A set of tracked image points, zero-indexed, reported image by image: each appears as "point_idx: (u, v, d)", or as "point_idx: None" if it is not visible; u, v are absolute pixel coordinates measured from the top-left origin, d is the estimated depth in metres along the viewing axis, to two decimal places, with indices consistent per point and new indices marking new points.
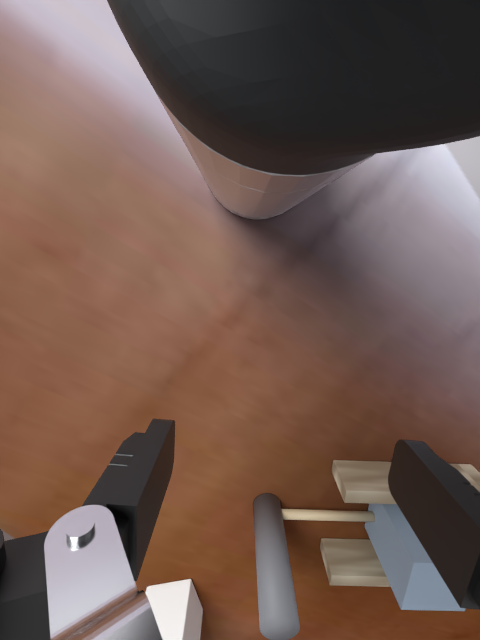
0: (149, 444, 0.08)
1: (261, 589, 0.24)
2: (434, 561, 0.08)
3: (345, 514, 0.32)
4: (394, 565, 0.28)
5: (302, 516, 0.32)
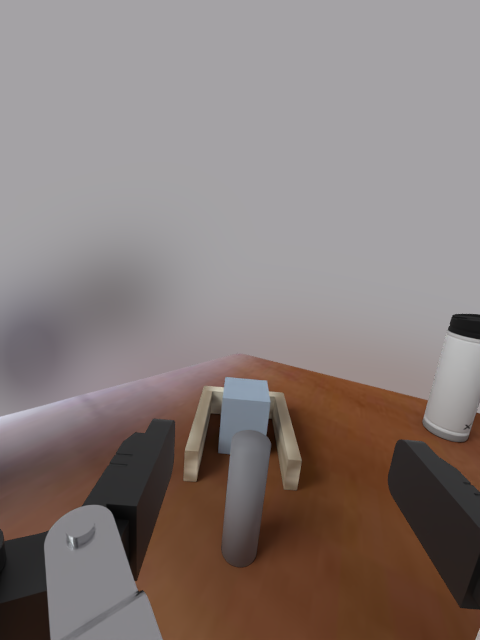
0: (149, 444, 0.08)
1: (238, 474, 0.22)
2: (434, 560, 0.08)
3: None
4: (247, 414, 0.36)
5: None
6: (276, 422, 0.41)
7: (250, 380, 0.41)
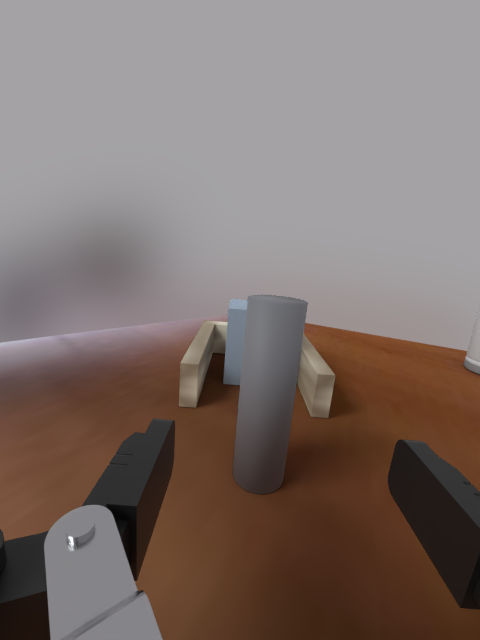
0: (149, 444, 0.08)
1: (259, 341, 0.14)
2: (434, 560, 0.08)
3: None
4: None
5: None
6: None
7: None
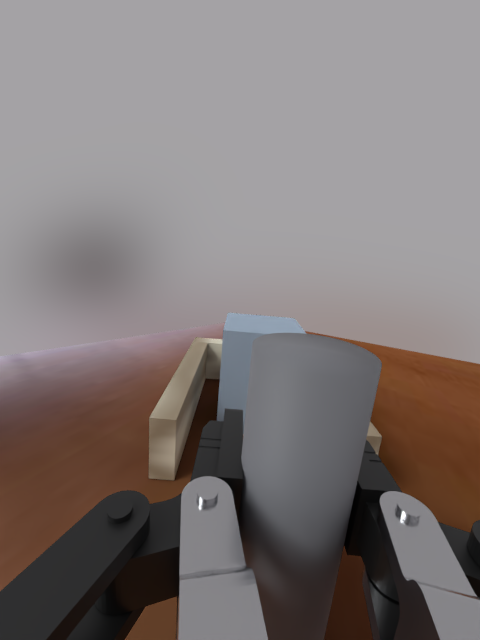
0: (231, 429, 0.09)
1: (278, 450, 0.06)
2: None
3: None
4: None
5: None
6: None
7: (268, 316, 0.25)
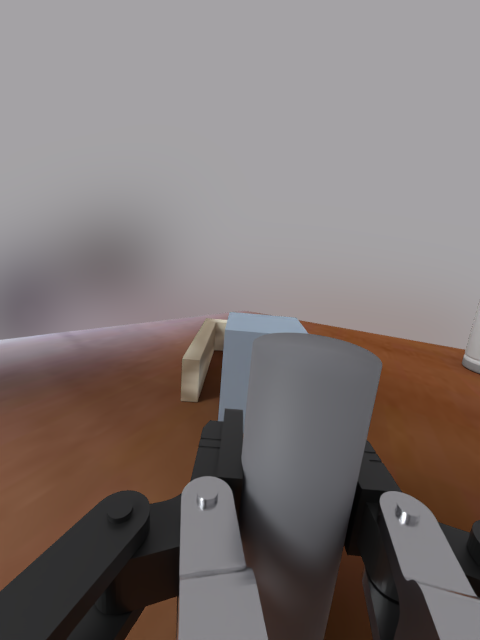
0: (231, 429, 0.09)
1: (278, 450, 0.06)
2: None
3: None
4: None
5: None
6: None
7: (270, 316, 0.25)
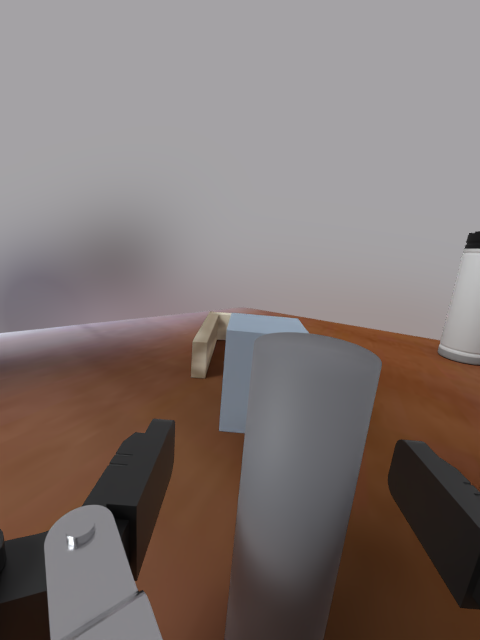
0: (149, 444, 0.08)
1: (279, 447, 0.07)
2: (434, 560, 0.08)
3: None
4: None
5: None
6: None
7: (271, 317, 0.25)
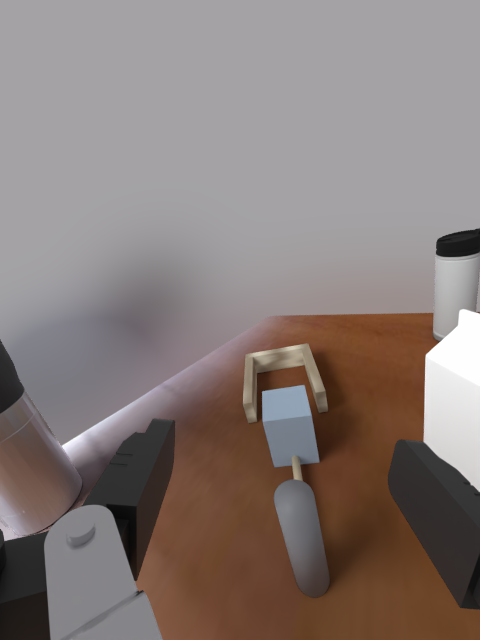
0: (149, 444, 0.08)
1: (288, 532, 0.22)
2: (434, 560, 0.08)
3: None
4: (292, 430, 0.35)
5: None
6: (306, 367, 0.53)
7: (287, 389, 0.40)
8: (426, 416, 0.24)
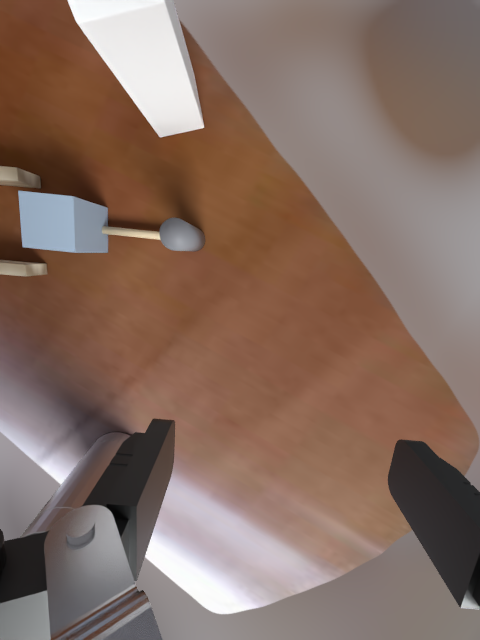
0: (149, 444, 0.08)
1: (191, 244, 0.31)
2: (434, 560, 0.08)
3: (127, 235, 0.38)
4: (84, 223, 0.34)
5: None
6: None
7: (23, 214, 0.31)
8: (120, 78, 0.24)
